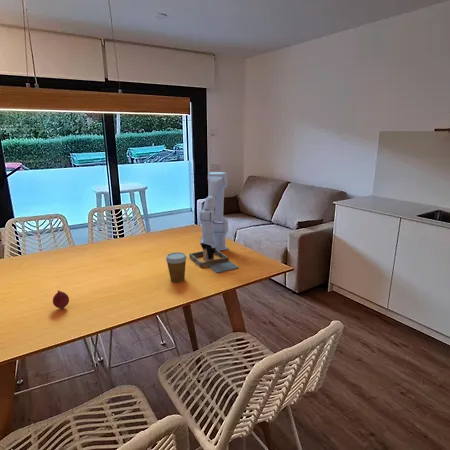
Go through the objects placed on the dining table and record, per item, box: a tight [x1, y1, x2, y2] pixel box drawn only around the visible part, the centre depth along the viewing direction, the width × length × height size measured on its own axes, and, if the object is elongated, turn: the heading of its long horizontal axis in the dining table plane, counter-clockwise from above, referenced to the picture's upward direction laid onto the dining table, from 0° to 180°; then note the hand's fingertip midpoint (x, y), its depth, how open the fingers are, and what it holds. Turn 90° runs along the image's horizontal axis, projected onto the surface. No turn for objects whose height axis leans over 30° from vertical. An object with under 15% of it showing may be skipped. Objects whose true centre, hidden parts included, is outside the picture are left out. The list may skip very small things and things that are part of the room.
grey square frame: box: [189, 249, 230, 269], centre depth 182 cm, size 16×16×2 cm
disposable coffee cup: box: [165, 251, 188, 283], centre depth 157 cm, size 10×10×12 cm
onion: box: [52, 289, 70, 310], centre depth 134 cm, size 6×6×8 cm
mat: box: [208, 261, 239, 274], centre depth 172 cm, size 10×12×1 cm
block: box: [202, 248, 215, 262], centre depth 181 cm, size 4×4×6 cm
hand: (208, 257), depth 182 cm, fingers closed on block, 4 cm apart
